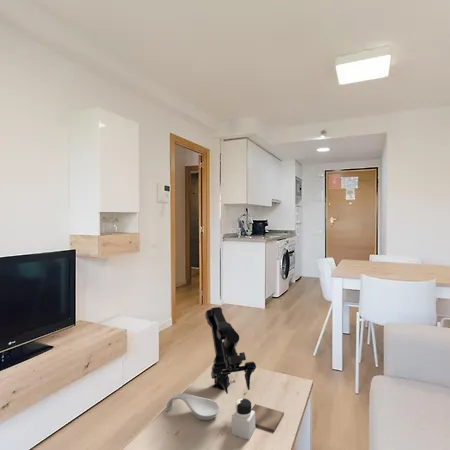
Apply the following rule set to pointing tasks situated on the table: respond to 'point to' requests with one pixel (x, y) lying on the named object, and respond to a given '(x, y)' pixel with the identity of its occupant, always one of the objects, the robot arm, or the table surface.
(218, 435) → the table surface
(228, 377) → the robot arm
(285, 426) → the table surface
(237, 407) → the medicine bottle
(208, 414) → the spoon rest
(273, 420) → the walnut board
